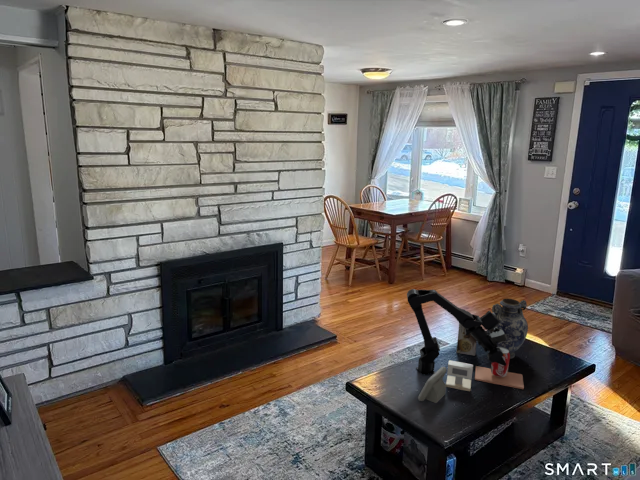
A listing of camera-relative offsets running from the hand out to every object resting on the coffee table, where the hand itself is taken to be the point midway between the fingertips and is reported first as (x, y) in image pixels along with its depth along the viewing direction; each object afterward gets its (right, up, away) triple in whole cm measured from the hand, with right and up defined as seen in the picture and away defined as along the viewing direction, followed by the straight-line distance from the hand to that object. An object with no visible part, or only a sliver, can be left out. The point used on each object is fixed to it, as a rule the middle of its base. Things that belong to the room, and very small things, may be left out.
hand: (503, 361), depth 208 cm
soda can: (-2, -7, +2) cm, 7 cm away
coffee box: (-9, -2, +26) cm, 28 cm away
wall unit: (-21, -9, -4) cm, 24 cm away
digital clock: (-35, -11, -13) cm, 39 cm away
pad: (-1, -8, +2) cm, 8 cm away
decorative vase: (+10, -3, +25) cm, 27 cm away
